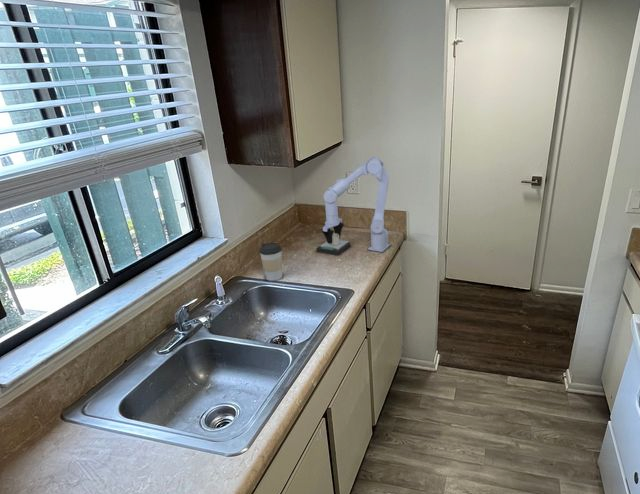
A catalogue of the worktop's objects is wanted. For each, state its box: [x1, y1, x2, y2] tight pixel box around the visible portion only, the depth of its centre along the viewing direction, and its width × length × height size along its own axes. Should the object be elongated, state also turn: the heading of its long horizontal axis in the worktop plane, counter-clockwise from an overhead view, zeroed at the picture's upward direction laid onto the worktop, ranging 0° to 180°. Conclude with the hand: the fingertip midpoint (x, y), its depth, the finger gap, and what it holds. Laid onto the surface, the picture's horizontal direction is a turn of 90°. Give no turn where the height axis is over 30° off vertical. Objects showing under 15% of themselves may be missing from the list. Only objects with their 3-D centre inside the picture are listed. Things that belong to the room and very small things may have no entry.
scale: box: [316, 239, 352, 256], centre depth 214 cm, size 12×12×3 cm
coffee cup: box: [258, 242, 283, 282], centre depth 184 cm, size 9×9×15 cm
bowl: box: [328, 232, 341, 246], centre depth 213 cm, size 6×6×4 cm
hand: (333, 240), depth 213 cm, fingers open, 7 cm apart
